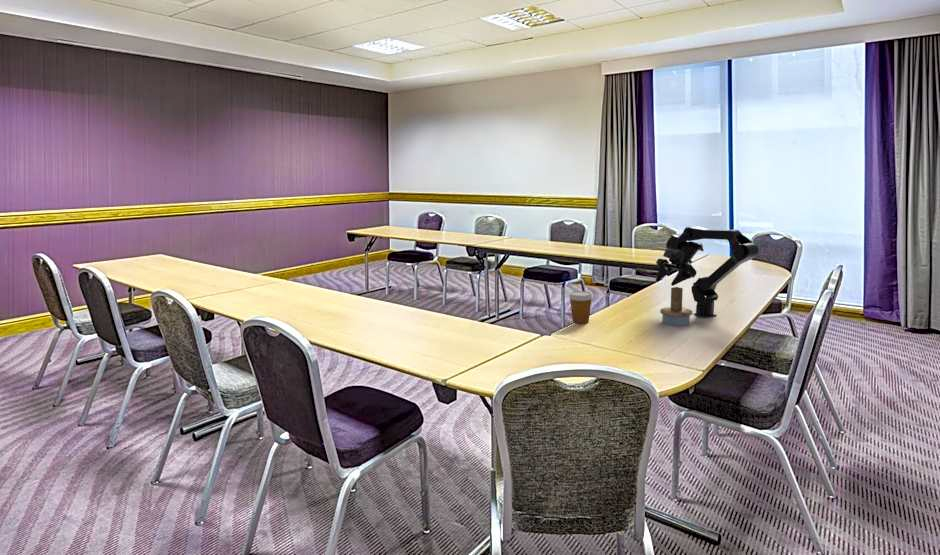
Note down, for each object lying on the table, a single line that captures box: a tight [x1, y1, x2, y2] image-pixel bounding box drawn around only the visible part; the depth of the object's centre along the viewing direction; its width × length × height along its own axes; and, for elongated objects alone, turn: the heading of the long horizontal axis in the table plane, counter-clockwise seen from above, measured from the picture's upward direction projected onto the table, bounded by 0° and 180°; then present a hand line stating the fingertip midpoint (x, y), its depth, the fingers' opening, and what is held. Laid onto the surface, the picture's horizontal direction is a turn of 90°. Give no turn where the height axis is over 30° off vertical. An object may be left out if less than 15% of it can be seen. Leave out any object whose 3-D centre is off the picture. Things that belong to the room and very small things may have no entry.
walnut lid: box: [659, 286, 693, 316], centre depth 236 cm, size 12×12×10 cm
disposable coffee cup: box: [568, 290, 594, 325], centre depth 242 cm, size 10×10×12 cm
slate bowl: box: [661, 314, 691, 327], centre depth 237 cm, size 10×10×4 cm
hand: (664, 283), depth 247 cm, fingers open, 9 cm apart
